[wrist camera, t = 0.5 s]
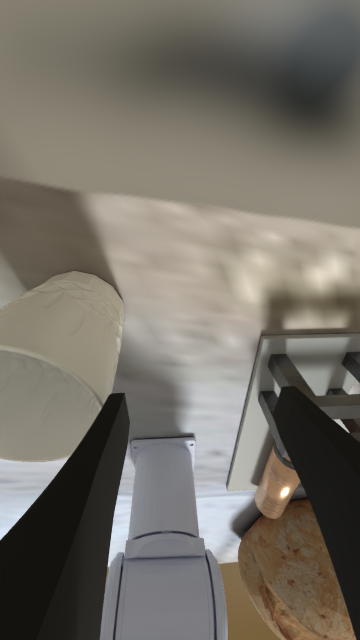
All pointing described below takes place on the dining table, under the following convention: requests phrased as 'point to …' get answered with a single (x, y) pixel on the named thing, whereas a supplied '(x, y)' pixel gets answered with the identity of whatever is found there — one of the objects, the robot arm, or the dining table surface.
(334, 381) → the pale gray board
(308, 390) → the collar
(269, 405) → the dark gray arch
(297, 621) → the bread
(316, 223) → the dining table surface
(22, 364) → the white cup
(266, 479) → the copper tube
